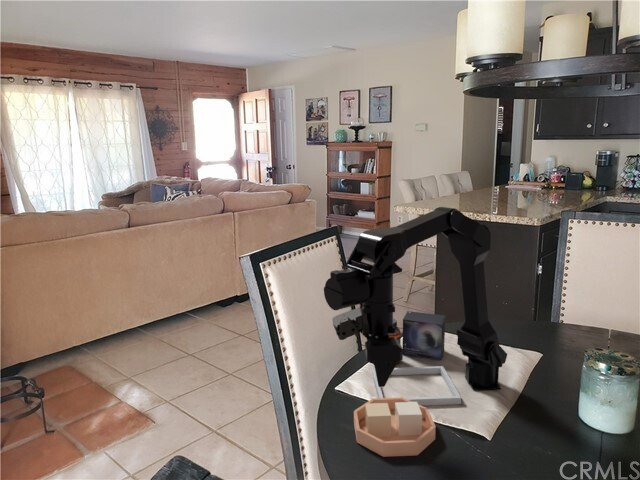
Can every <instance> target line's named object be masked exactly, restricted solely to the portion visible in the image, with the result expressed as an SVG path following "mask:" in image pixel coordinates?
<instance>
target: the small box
mask: <svg viewBox="0 0 640 480" xmlns="http://www.w3.org/2000/svg"><path fill="white" fill-rule="evenodd" d="M445 333H446V315H444V314H435V313H426V312H418V311H410V310H409V311H406V313H405V315H404V316H403V318H402V349H403V356H404V355H405V356H409V357H410V356H411V357H418V358H424V359H430V360H436V361H442V359H443V357H444V353H445V351H446V350H445V341H446V339H445V336H446V335H445Z"/></svg>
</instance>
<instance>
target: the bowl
mask: <svg viewBox="0 0 640 480" xmlns="http://www.w3.org/2000/svg"><path fill="white" fill-rule="evenodd" d="M405 398H406V397H383V398H378V397H377V398H371V399H370V400H368V401H367V402H365V403H363V404H362V405H361V406H359V407H357V408H356V409H355V410H353V427H354V431H355V439H356V443H358V445H359V444H360V446H363V447H364V448H367V449H368V450H370V451H372V452H373V453H376V454H378V455H379V456H382V457H383V458H385V457H409V456H418V455H419V454H421V453H422V452H423V451H424V450H425V449H427V447H429V446H430V445H431V444H432V443H433V442H434V441H435V440H436V428H437V427H436V424H435V422H434V419H433V417H432V415H431V413H430V410H429V408H428V407H427V406H426V407H425V405H422V406H421V405H419V404H418V405H419V408H420V411H421V413H422V435H409V436H399V435H398V432H397V428H396V425H395V402H412V401H409V400H407V399H405ZM371 403H388V406H389V410H390V413H391V436H385V437H375V436H373V435H371V434H369V433H367V429H366V420H365V404H371Z"/></svg>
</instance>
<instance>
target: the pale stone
mask: <svg viewBox="0 0 640 480" xmlns="http://www.w3.org/2000/svg"><path fill="white" fill-rule="evenodd" d="M395 425H396V428H397V432H398V435H399V436H409V435H422V413H421V411H420V408H419V405H418V403H417V402H395Z"/></svg>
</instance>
